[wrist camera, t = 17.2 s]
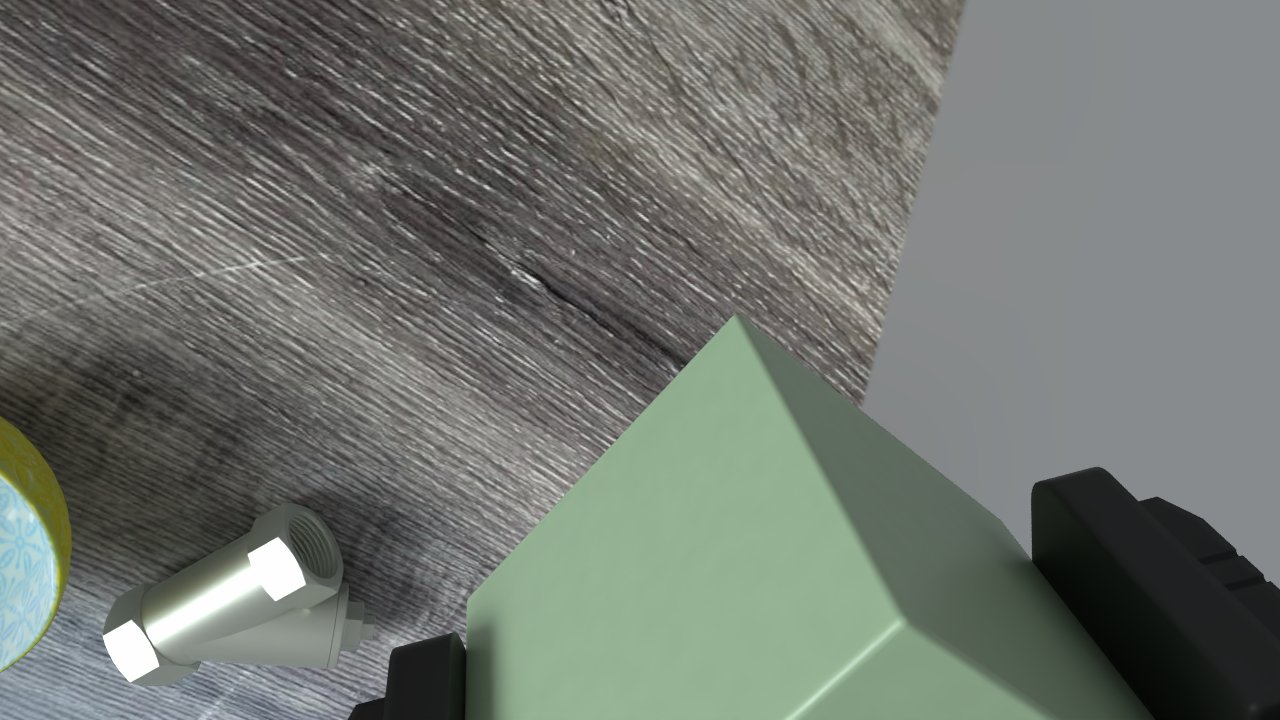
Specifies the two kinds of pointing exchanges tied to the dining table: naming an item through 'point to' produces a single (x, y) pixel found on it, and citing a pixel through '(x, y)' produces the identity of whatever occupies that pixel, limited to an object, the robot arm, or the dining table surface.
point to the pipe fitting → (243, 606)
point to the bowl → (29, 545)
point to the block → (774, 576)
